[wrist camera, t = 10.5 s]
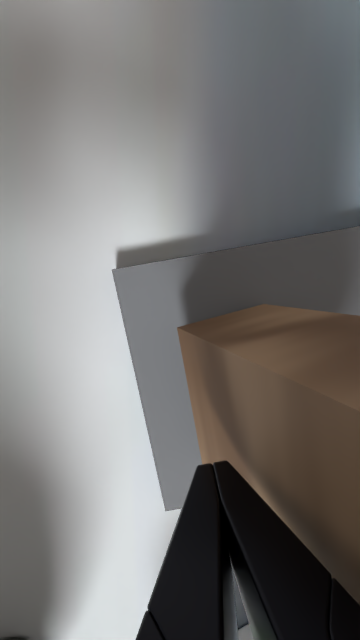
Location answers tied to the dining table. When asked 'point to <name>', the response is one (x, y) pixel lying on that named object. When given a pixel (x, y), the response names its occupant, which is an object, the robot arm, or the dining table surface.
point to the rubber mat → (211, 301)
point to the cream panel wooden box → (286, 418)
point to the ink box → (245, 633)
